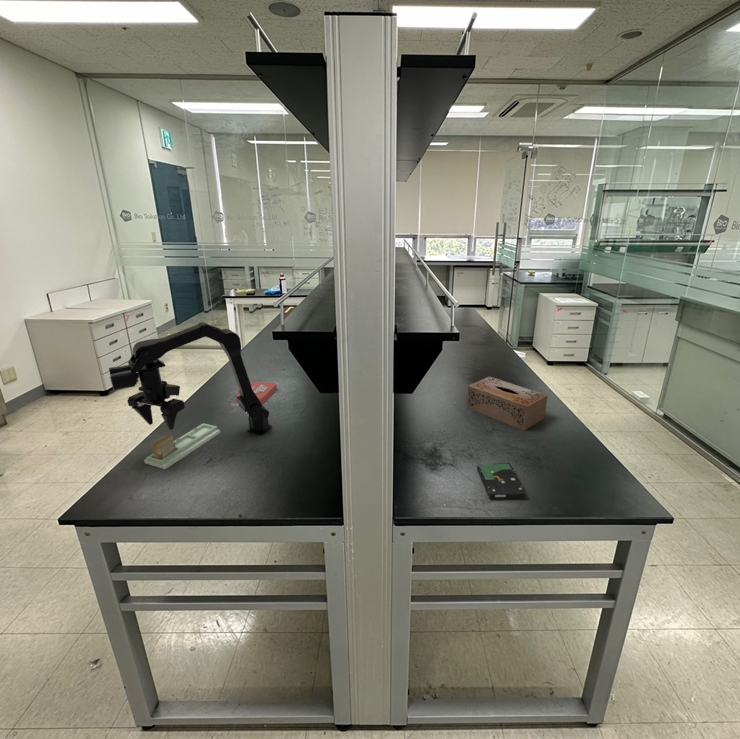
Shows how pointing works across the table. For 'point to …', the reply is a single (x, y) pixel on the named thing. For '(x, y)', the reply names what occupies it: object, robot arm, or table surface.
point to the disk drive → (501, 481)
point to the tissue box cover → (507, 402)
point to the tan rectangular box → (163, 447)
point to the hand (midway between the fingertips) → (161, 426)
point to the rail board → (185, 445)
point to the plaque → (262, 390)
